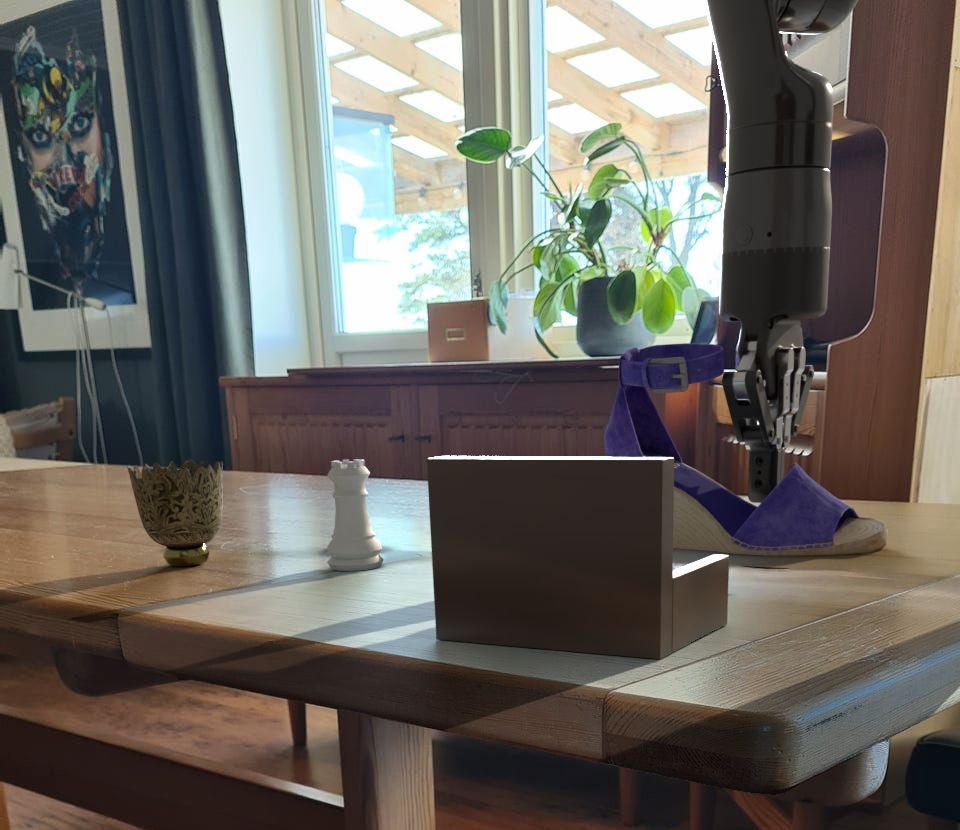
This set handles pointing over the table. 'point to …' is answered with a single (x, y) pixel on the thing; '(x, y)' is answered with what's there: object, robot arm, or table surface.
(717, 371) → the sandal
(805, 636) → the table surface
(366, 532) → the rook chess piece
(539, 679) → the table surface
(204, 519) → the cup
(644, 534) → the brown stepped block
